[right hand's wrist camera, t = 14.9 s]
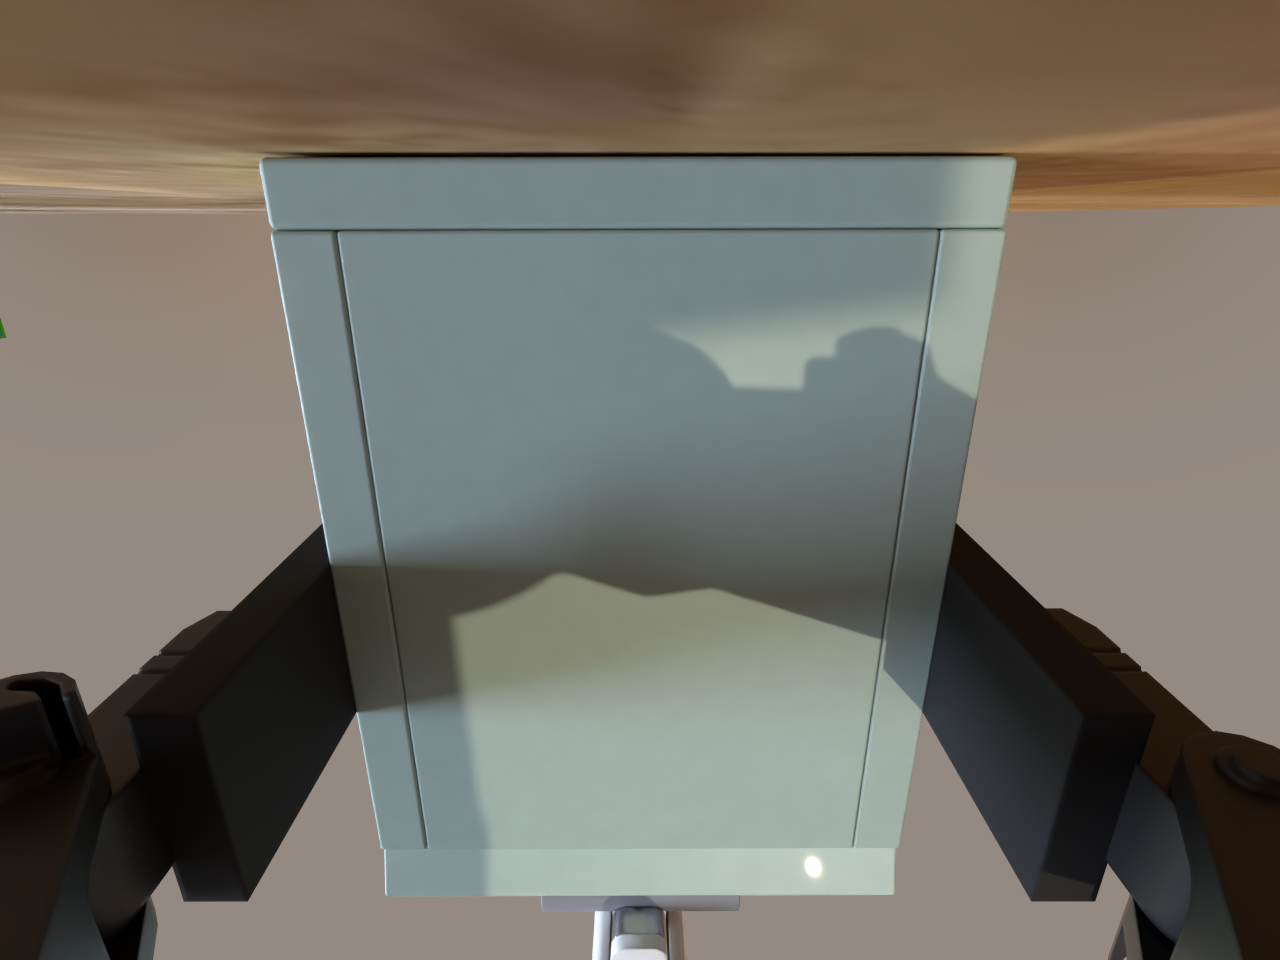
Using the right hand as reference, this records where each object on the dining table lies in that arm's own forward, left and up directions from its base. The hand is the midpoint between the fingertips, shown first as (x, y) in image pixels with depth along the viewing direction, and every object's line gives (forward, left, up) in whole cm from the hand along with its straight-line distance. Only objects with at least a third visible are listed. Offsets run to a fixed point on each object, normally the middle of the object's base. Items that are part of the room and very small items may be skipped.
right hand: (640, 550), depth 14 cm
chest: (+1, -3, -7) cm, 8 cm away
